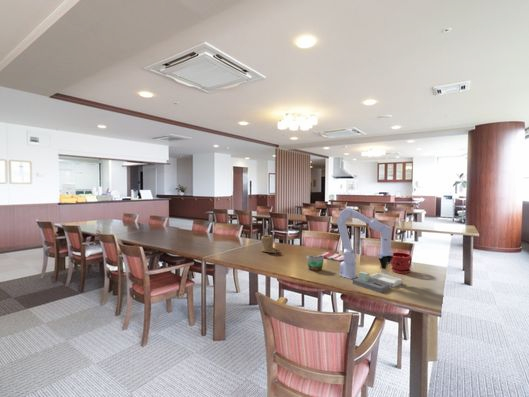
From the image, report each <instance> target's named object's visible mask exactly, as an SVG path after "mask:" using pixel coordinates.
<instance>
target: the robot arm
mask: <svg viewBox="0 0 529 397" xmlns="http://www.w3.org/2000/svg"><path fill="white" fill-rule="evenodd" d="M349 219H358V220H360V221H361V222H363V223H366V224H367V225H368V226H369V228H370V229H372V230H373V231H376V232H377V233H380V235H381V237H380V252H379V253H378V254H377V259H378V260H379V264H380V263H381V267H382V268H383V269H386V264H387V262H389V263H391V260H392V258H393V256H392V255H393V253H394V251H393V250H392V228H391V227H390V226H389V225H386V223H382V222H380V221H379V219H375V218H373V219H371V218H369V217H367V216H366V215H365V214H362V213H361V212H359V211H357V210H356V209H352V208H350V207H346V208H344V209H342V210H341V211H340V213H339V214H338V218H337V220H336V221H337V222H336V224H337V228H338V231H339V236H340V240H341V244H342V249H343V255H344V261H342V262H340V264H339V274H338V276H339V277H344V278H347V279H349V280H353V279H356V278H359V275H356V268H357V266H356V265H357V264H356V259H357V255H356V252H354V249H353V247H352V244H351V240H350V235H349V231H348V228H347V225H346V224H347V222H348V220H349Z"/></svg>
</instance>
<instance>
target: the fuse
mask: <svg viewBox="0 0 529 397" xmlns="http://www.w3.org/2000/svg"><path fill="white" fill-rule="evenodd" d="M369 276H370V272H366V271H362V270H361V271H359V272H358V278H359V280H362V281H365V282H367V281H369Z"/></svg>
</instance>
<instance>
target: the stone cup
mask: <svg viewBox="0 0 529 397" xmlns="http://www.w3.org/2000/svg"><path fill="white" fill-rule="evenodd" d="M261 243H262V246H263V248H262V249H261V252H265V253H271V254H277V253H279V252H281V249H279V248H275V247H274V246H273V245H274V235H272V234H269V235H268V234H266V235H262V236H261Z"/></svg>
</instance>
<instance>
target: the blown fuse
mask: <svg viewBox="0 0 529 397" xmlns="http://www.w3.org/2000/svg"><path fill="white" fill-rule="evenodd" d="M391 268H392V265H391V262H390V263H389V262H387V264H386V269H383V268H382V267H381V263H380V262H379V270H381V271H380V273H381V274H385V275H389V273H390V271H391Z"/></svg>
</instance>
